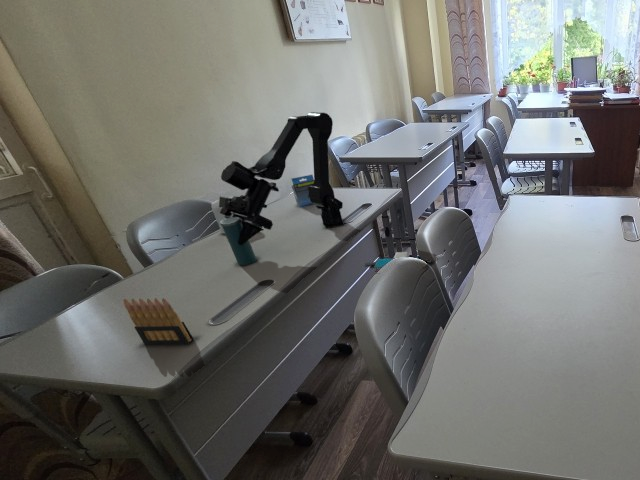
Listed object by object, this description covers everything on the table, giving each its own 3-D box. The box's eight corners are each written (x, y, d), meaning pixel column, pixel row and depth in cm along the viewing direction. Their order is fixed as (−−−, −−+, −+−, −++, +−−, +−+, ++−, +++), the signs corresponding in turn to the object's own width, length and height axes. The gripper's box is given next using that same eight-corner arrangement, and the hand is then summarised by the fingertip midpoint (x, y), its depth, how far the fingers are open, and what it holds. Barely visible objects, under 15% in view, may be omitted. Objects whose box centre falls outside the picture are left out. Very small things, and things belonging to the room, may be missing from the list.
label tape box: (317, 200, 178) (309, 172, 172) (320, 202, 175) (312, 174, 169) (297, 205, 173) (288, 176, 167) (300, 207, 171) (291, 178, 164)
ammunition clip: (194, 339, 92) (170, 295, 86) (188, 344, 91) (163, 300, 85) (150, 339, 93) (123, 296, 87) (144, 344, 91) (116, 301, 85)
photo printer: (250, 224, 156) (238, 193, 149) (253, 226, 153) (241, 195, 147) (220, 232, 150) (207, 200, 143) (223, 235, 147) (209, 203, 141)
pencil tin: (257, 256, 130) (241, 215, 123) (256, 263, 125) (239, 221, 118) (238, 260, 128) (221, 219, 121) (236, 267, 124) (218, 225, 117)
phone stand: (433, 252, 126) (433, 247, 125) (428, 270, 116) (428, 265, 115) (370, 255, 126) (369, 251, 125) (360, 274, 116) (359, 269, 115)
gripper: (213, 181, 122) (191, 227, 119) (248, 188, 113) (224, 238, 111) (248, 198, 132) (227, 241, 129) (282, 205, 123) (261, 252, 121)
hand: (234, 243), depth 122 cm, fingers closed on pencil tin, 5 cm apart
